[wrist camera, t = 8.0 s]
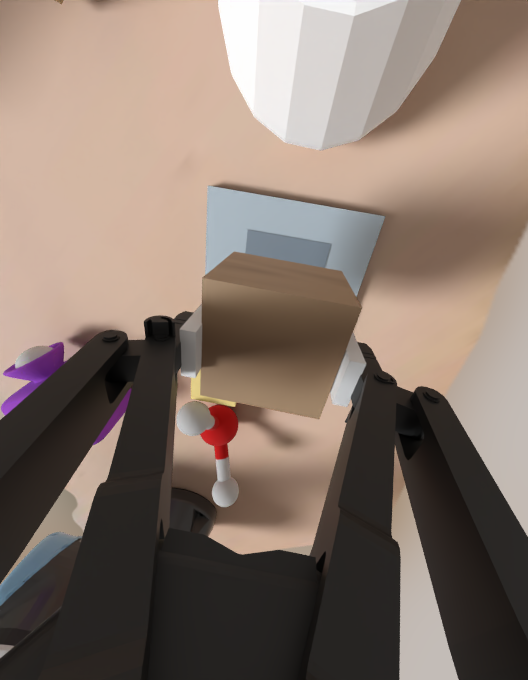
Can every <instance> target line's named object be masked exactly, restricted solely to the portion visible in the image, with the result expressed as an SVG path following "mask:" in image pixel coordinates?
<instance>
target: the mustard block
mask: <svg viewBox="0 0 528 680" xmlns="http://www.w3.org/2000/svg"><path fill="white" fill-rule="evenodd" d="M200 378H201V369H200V371H199V373H198V375H197V376H196V378H191V399H195V400H200V401H206V402H211V403H216V404H222V405H227V406H232V407H235V405H236V402H231V401H226V400H221V399H216V398H212V397H207V396H202V395H200Z"/></svg>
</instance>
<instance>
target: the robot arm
mask: <svg viewBox="0 0 528 680" xmlns="http://www.w3.org/2000/svg"><path fill="white" fill-rule="evenodd" d="M144 327H145V336H146V338H145V340H128V337H127V334H126V333H124V332H122V331H117V330H110V331H105V332H102V333H99V334H98V335H96V336H95V337H94V338H93V339H91V340H90V341H89V342H88V343H87V344H86V345H85V346H84V347H82V348H81V349H80V350H79V351H78V352H77V353H76V354H75V355H73V356H72V357H71V358H70V359H69V360H68V361H67V362H65V363H64V364H63V365H62V366H61V367H60V368H59V369H58V370H56V371H55V372H54V373H53V374H52V375H51V376H50V377H49V378H47V379H46V380H45V381H44V382H43V383H42V384H41V385H40V386H38V387H37V388H36V389H35V390H34V391H33V392H32V393H30V394H29V395H28V396H27V397H26V398H25V399H24V400H23V401H21V402H20V403H19V404H18V405H17V406H16V407H15V408H14V409H12V410H11V411H10V412H9V413H8V414H7V415H6V416H4V417H3V418H2V419H1V420H0V583H1V582H2V580H3V579H4V577H5V576H6V575H7V573H8V572H9V570H10V569H11V568H12V566H13V565H14V563H15V562H16V560H17V559H18V558H19V556H20V555H21V553H22V552H23V550H24V549H25V547H26V546H27V544H28V543H29V541H30V540H31V538H32V537H33V535H34V533H35V532H36V530H37V529H38V527H39V526H40V524H41V523H42V521H43V520H44V518H45V517H46V515H47V514H48V512H49V511H50V509H51V508H52V506H53V505H54V503H55V502H56V500H57V499H58V497H59V495H60V494H61V492H62V491H63V489H64V488H65V486H66V485H67V483H68V482H69V480H70V479H71V477H72V476H73V474H74V473H75V471H76V470H77V468H78V467H79V465H80V464H81V462H82V461H83V459H84V457H85V456H86V454H87V453H88V451H89V450H90V448H91V447H92V445H93V444H94V442H95V441H96V439H97V438H98V436H99V435H100V433H101V432H102V430H103V429H104V427H105V426H106V424H107V422H108V421H109V419H110V418H111V416H112V415H113V413H114V412H115V410H116V409H117V407H118V406H119V404H120V403H121V401H122V400H123V398H124V397H125V395H126V394H127V392H128V391H129V389H130V388H131V386H132V384H133V386H132V390H131V394H130V397H129V401H128V405H127V409H126V412H125V416H124V420H123V423H122V427H121V431H120V435H119V438H118V442H117V446H116V449H115V453H114V457H113V460H112V464H111V468H110V472H109V475H108V478H107V480H106V482H104V483H101V484H100V485H99V487H98V488H97V491H96V494H95V496H94V499H93V503H92V506H91V509H90V513H89V516H88V520H87V523H86V526H85V530H84V533H83V536H78V537H76V536H73V535H70V534H66V533H63V532H56V533H52V534H50V535H49V536H47V537H46V538H45V539H43V540H42V541H41V542H40V543H39V544H37V545H36V546H35V547H34V548H33V550H32V551H31V552H30V553H29V554H28V555H27V556H26V557H25V558H24V559H23V560H22V561H21V562H20V563H19V564H18V565H17V567H16V568H15V569H14V570H13V571H12V572H11V573H10V574H9V576H8V577H7V578H6V579H5V580H4V581H3V583H2V584H1V585H0V680H399V655H400V649H399V648H400V548H399V545H398V542H396V541H395V540H394V539H392V535H391V523H392V498H393V473H394V448H395V446H396V450H397V454H398V458H399V461H400V465H401V469H402V473H403V477H404V480H405V484H406V488H407V491H408V495H409V499H410V503H411V507H412V510H413V514H414V518H415V521H416V525H417V529H418V533H419V536H420V540H421V544H422V548H423V552H424V555H425V559H426V563H427V567H428V570H429V574H430V578H431V581H432V585H433V589H434V593H435V597H436V600H437V604H438V608H439V612H440V615H441V619H442V623H443V627H444V631H445V634H446V638H447V642H448V645H449V649H450V652H451V656H452V659H453V662H454V666H455V669H456V672H457V675H458V679H459V680H528V537H527V535H526V533H525V532H524V530H523V528H522V527H521V525H520V523H519V521H518V520H517V518H516V516H515V515H514V513H513V511H512V510H511V508H510V506H509V504H508V503H507V501H506V499H505V498H504V496H503V494H502V493H501V491H500V489H499V488H498V486H497V484H496V482H495V481H494V479H493V477H492V476H491V474H490V472H489V471H488V469H487V467H486V466H485V464H484V462H483V460H482V459H481V457H480V455H479V453H478V452H477V450H476V448H475V447H474V445H473V443H472V442H471V440H470V438H469V437H468V435H467V433H466V431H465V430H464V428H463V427H462V425H461V423H460V421H459V420H458V418H457V416H456V414H455V413H454V411H453V409H452V408H451V406H450V404H449V403H448V401H447V400H446V398H445V397H444V396H443V395H441V394H440V393H439V392H437V391H435V390H434V389H431V388H428V387H422V386H421V387H417V388H416V389H415V391H414V393H413V392H410V391H408V390H405V389H402V388H400V387H398V386H397V382H396V380H395V379H394V378H393V377H392V376H391V375H389V374H388V373H386V372H384V371H382V369H381V367H380V365H379V363H378V361H377V360H376V357H375V355H374V353H373V351H372V349H371V348H370V347H369V346H368V345H367V344H365V343H359V342H357V340H356V338H355V336H354V333H352V335H351V338H350V341H349V343H348V346H347V348H346V351H345V354H344V356H343V359H342V361H341V364H340V367H339V369H338V372H337V374H336V377H335V380H334V382H333V385H332V387H331V390H330V394H331V399H332V404H335V405H340V406H345V407H347V406H348V404H349V402H350V399H351V400H352V404H353V406H352V408H351V410H350V412H349V414H348V417H347V419H346V421H345V422H346V423H347V424H346V427H345V431H344V435H343V438H342V442H341V445H340V449H339V453H338V456H337V460H336V464H335V467H334V471H333V475H332V478H331V482H330V486H329V489H328V493H327V496H326V500H325V504H324V507H323V511H322V515H321V518H320V522H319V526H318V529H317V533H316V537H315V540H314V544H313V547H312V550H311V553H310V556H307V555H302V554H297V553H292V552H287V551H283V550H275V551H267V552H259V553H252V554H244V555H241V554H237V553H235V552H234V551H232V550H230V549H228V548H227V547H225V546H223V545H221V544H220V543H218V542H216V541H214V540H213V539H211V538H209V537H208V536H209V534H210V533H211V531H212V529H213V526H214V523H215V519H216V510H215V508H214V506H213V505H212V504H211V503H210V502H209V501H208V500H206V499H205V498H203V497H201V496H199V495H197V494H195V493H192V492H190V491H186V490H182V489H174V488H171V484H172V466H173V449H174V431H175V413H176V396H177V372H178V370H179V369H180V367H181V376H186V377H191V378H196V376H197V375H198V373H199V371H200V369H201V360H202V304H201V305H200V306H199V307H198V309H197V310H196V311H195V312H194V313H192V312H187V311H185V312H183V313H180V314H178V315H177V316H176V317H175V319H172V318H171V317H168V316H153V317H149V318H147V319H146V320H145V321H144Z"/></svg>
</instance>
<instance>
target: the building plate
mask: <svg viewBox="0 0 528 680" xmlns="http://www.w3.org/2000/svg"><path fill="white" fill-rule="evenodd" d="M384 219H385V216H381V215H375V214H370V213H364V212H358V211H352V210H347V209H341V208H335V207H329V206H324V205H318V204H312V203H306V202H300V201H295V200H289V199H283V198H277V197H272V196H266V195H260V194H254V193H248V192H243V191H237V190H231V189H225V188H220V187H214V186H208V195H207V233H206V270H205V275H206V274H208V273H209V272H210V271H211V270H212V269H213V268H215V267H216V266H217V265H218V264H219V263H221V262H222V261H223V260H224V259H225V258H227V257H228V256H229V255H230V254H231V253H233V252H234V251H235V252H240V253H246V254H251V255H257V256H262V257H268V258H273V259H279V260H284V261H290V262H295V263H301V264H306V265H312V266H317V267H323V268H328V269H334V270H339V271H342V272H343V274H344V276H345V278H346V279H347V281H348V283H349V285H350V287H351V288H352V290H353V292H354V294H355V296H356V297H357V294H358V291H359V289H360V286H361V283H362V280H363V277H364V275H365V272H366V269H367V266H368V264H369V261H370V258H371V255H372V252H373V250H374V247H375V244H376V241H377V239H378V236H379V233H380V230H381V227H382V225H383V222H384Z"/></svg>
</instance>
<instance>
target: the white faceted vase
mask: <svg viewBox="0 0 528 680" xmlns="http://www.w3.org/2000/svg"><path fill="white" fill-rule="evenodd" d="M460 2H461V0H218V6H219V12H220V17H221V23H222V28H223V33H224V38H225V43H226V49H227V54H228V59H229V64H230V69H231V74H232V76H233V78H234V80H235V82H236V84H237V86H238V88H239V89H240V91H241V93H242V95H243V97H244V99H245V101H246V103H247V104H248V106H249V108H250V110H251V112H252V114H253V116H254V117H255V118H256V119H257V120H258V121H259V122H261V123H262V124H263V125H264V126H266V127H267V128H268V129H269V130H270V131H272V132H273V133H274V134H275V135H276V136H278V137H279V138H280V139H281V140H282V141H284V142H285V143H289V144H293V145H298V146H302V147H307V148H311V149H316V150H320V151H321V150H325V149H328V148H332V147H336V146H340V145H343V144H347V143H351V142H355V141H358V140H360V139H361V138H363V137H364V136H365V135H366V134H368V133H369V132H370V131H372V130H373V129H374V128H376V127H377V126H378V125H380V124H381V123H382V122H384V121H385V120H386V119H387V118H389V117H390V116H391V115H393V114H394V113H395V112H397V110H398V109H399V108H400V106H401V105H402V103H403V102H404V100H405V99H406V98H407V96H408V95H409V93H410V92H411V91H412V89H413V88H414V86H415V85H416V84H417V82H418V81H419V79H420V78H421V76H422V75H423V74H424V72H425V71H426V69H427V68H428V67H429V65H430V64H431V62H432V61H433V59H434V58H435V56H436V54H437V52H438V50H439V48H440V46H441V43H442V41H443V39H444V37H445V35H446V32H447V30H448V28H449V26H450V24H451V21H452V19H453V17H454V15H455V13H456V10H457V8H458V6H459V4H460Z"/></svg>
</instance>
